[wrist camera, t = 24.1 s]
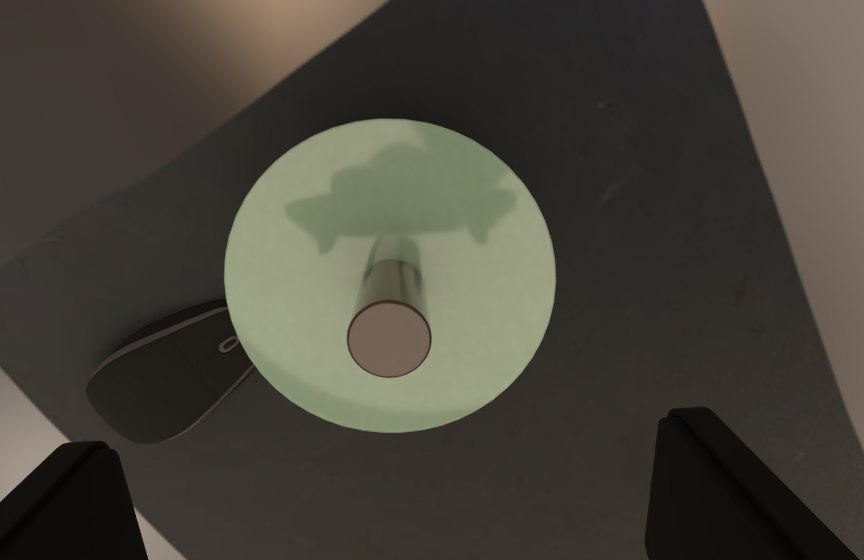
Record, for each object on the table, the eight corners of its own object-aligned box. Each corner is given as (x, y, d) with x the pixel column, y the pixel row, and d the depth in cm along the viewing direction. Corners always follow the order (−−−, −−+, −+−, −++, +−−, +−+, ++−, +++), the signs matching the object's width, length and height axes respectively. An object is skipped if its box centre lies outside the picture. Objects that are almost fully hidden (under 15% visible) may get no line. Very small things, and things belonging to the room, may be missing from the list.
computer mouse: (289, 359, 35) (275, 389, 31) (148, 443, 36) (118, 482, 32) (224, 276, 33) (200, 297, 29) (77, 369, 34) (36, 401, 30)
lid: (207, 125, 19) (125, 130, 13) (553, 110, 19) (612, 109, 14) (258, 426, 23) (212, 524, 17) (544, 408, 23) (586, 498, 18)
